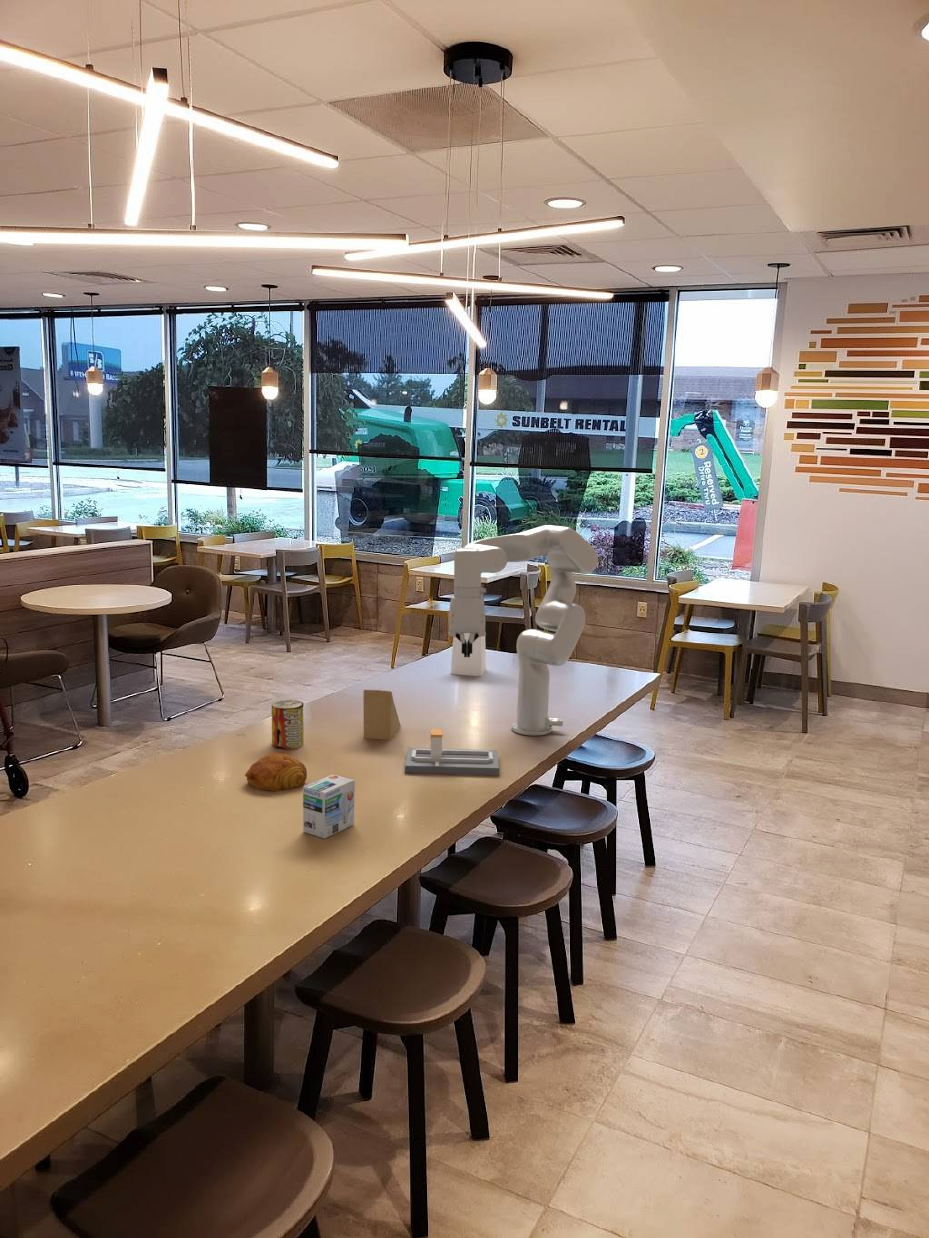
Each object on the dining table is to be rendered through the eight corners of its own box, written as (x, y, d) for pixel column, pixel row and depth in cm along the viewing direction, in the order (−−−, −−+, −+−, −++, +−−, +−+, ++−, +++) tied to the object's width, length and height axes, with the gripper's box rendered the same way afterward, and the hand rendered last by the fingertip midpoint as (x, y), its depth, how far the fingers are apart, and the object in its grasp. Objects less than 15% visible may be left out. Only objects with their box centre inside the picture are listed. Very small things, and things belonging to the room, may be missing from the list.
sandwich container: (401, 725, 290) (402, 679, 287) (391, 740, 275) (391, 691, 272) (374, 723, 291) (375, 677, 289) (362, 738, 276) (363, 689, 274)
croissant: (283, 776, 249) (281, 746, 248) (317, 784, 238) (315, 753, 237) (235, 787, 239) (233, 756, 238) (268, 796, 228) (266, 763, 227)
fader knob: (442, 752, 257) (442, 729, 256) (441, 759, 252) (442, 734, 251) (430, 752, 257) (431, 729, 256) (430, 758, 252) (430, 734, 251)
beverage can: (265, 745, 266) (264, 705, 264) (285, 737, 274) (285, 698, 272) (290, 751, 262) (290, 710, 260) (310, 742, 270) (309, 702, 268)
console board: (496, 756, 263) (496, 746, 262) (498, 775, 248) (499, 764, 247) (407, 754, 262) (408, 744, 262) (404, 772, 248) (405, 762, 247)
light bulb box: (324, 839, 204) (325, 793, 202) (301, 832, 208) (301, 786, 206) (355, 824, 213) (355, 779, 211) (332, 817, 217) (332, 773, 215)
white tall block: (450, 674, 358) (452, 607, 353) (455, 667, 369) (457, 602, 364) (481, 676, 356) (483, 609, 351) (485, 669, 367) (488, 604, 362)
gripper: (493, 590, 264) (492, 653, 268) (440, 590, 263) (440, 653, 267) (495, 594, 256) (494, 659, 260) (440, 594, 256) (440, 659, 260)
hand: (466, 656), depth 264 cm, fingers closed
